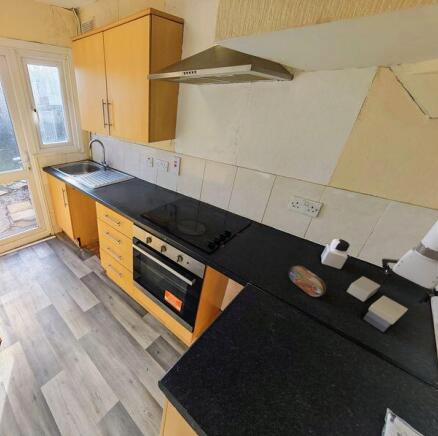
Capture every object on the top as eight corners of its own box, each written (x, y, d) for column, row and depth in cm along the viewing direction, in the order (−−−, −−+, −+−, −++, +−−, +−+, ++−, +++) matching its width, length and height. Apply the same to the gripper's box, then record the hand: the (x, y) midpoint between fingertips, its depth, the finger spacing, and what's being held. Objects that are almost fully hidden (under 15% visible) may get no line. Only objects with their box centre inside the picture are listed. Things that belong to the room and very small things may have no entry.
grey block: (395, 321, 85) (402, 312, 83) (383, 332, 81) (390, 323, 78) (374, 308, 90) (381, 300, 87) (362, 318, 86) (369, 310, 83)
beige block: (374, 293, 97) (380, 285, 94) (363, 301, 93) (369, 293, 90) (357, 283, 102) (363, 276, 99) (346, 291, 97) (351, 283, 95)
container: (338, 261, 115) (351, 240, 109) (340, 269, 110) (353, 248, 103) (320, 255, 119) (331, 235, 113) (321, 263, 113) (332, 242, 107)
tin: (285, 276, 104) (292, 262, 100) (290, 275, 105) (297, 261, 101) (317, 301, 92) (325, 286, 88) (322, 299, 93) (331, 284, 89)
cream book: (404, 313, 82) (408, 309, 81) (392, 324, 78) (396, 320, 77) (380, 299, 88) (383, 295, 86) (368, 309, 83) (371, 304, 82)
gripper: (482, 266, 65) (441, 306, 73) (402, 235, 78) (375, 272, 86) (475, 273, 61) (433, 315, 70) (393, 240, 75) (366, 278, 83)
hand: (401, 291), depth 78 cm, fingers open, 9 cm apart
